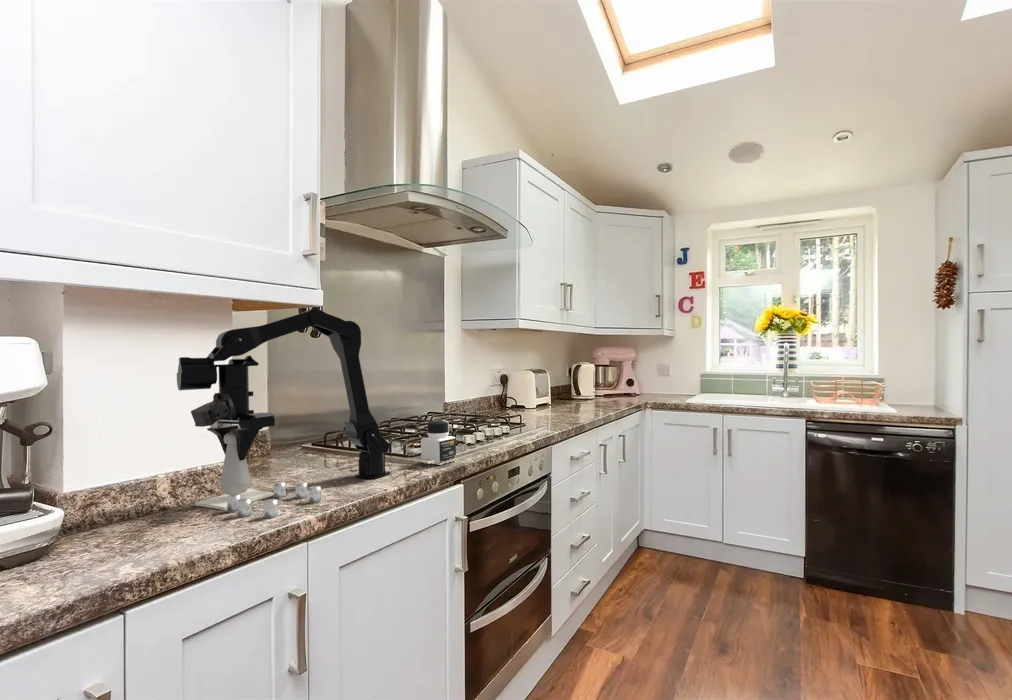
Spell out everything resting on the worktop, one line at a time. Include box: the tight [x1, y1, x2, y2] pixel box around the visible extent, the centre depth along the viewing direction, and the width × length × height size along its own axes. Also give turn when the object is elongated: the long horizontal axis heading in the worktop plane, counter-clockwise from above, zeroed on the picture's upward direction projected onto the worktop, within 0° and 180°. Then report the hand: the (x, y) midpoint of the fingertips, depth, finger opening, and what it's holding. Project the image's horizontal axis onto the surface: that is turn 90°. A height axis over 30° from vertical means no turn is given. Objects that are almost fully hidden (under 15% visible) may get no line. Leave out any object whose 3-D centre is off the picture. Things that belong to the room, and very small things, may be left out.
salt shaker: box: [219, 432, 252, 495], centre depth 111 cm, size 6×6×13 cm
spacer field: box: [226, 481, 322, 519], centre depth 106 cm, size 16×13×3 cm
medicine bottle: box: [420, 419, 457, 462], centre depth 147 cm, size 7×7×12 cm
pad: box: [194, 488, 274, 511], centre depth 111 cm, size 12×9×1 cm
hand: (235, 459), depth 111 cm, fingers closed on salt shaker, 4 cm apart
